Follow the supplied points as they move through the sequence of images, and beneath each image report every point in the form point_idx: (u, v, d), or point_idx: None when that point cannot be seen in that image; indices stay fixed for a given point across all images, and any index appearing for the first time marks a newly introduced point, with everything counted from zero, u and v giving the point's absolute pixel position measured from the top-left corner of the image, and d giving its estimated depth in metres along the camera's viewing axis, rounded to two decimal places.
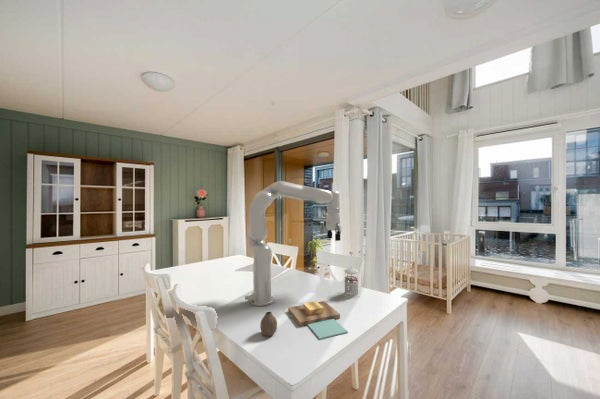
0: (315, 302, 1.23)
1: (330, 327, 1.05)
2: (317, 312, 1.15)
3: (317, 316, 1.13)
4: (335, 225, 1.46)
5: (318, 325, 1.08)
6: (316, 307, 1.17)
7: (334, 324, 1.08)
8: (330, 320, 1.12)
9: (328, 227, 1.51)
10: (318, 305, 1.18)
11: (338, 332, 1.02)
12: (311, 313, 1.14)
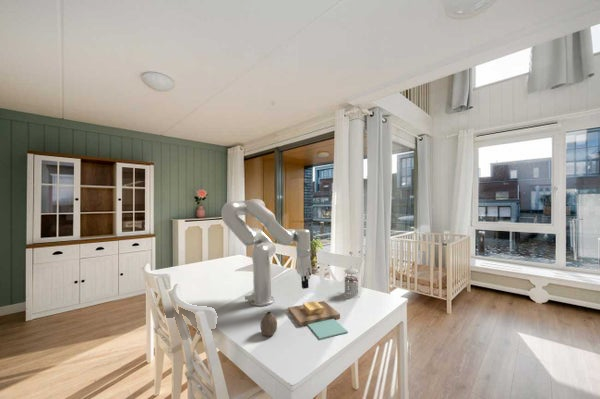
0: (315, 302, 1.23)
1: (330, 327, 1.05)
2: (317, 312, 1.15)
3: (317, 316, 1.13)
4: None
5: (318, 325, 1.08)
6: (316, 307, 1.17)
7: (334, 324, 1.08)
8: (330, 320, 1.12)
9: (298, 271, 1.30)
10: (318, 305, 1.18)
11: (338, 332, 1.02)
12: (311, 313, 1.14)
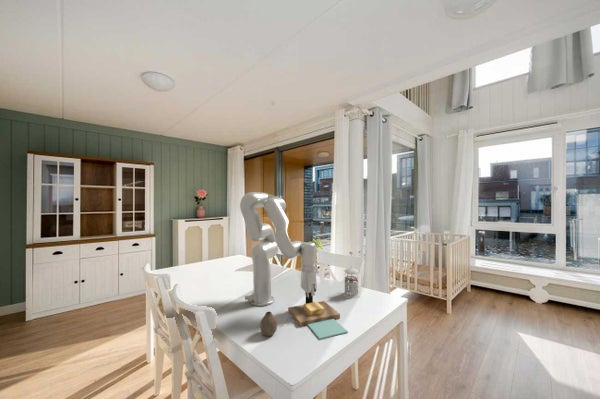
0: (316, 302, 1.22)
1: (330, 327, 1.05)
2: (318, 313, 1.15)
3: (317, 316, 1.13)
4: (309, 291, 1.19)
5: (318, 325, 1.08)
6: (317, 307, 1.16)
7: (334, 324, 1.08)
8: (330, 320, 1.12)
9: (302, 287, 1.23)
10: (319, 306, 1.18)
11: (338, 332, 1.02)
12: (312, 314, 1.13)
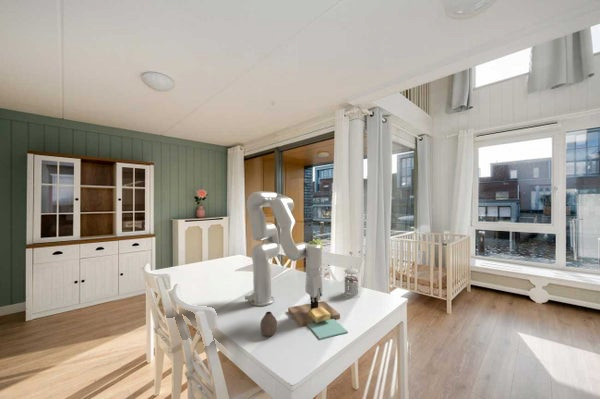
0: (321, 307, 1.16)
1: (330, 327, 1.05)
2: (324, 319, 1.09)
3: None
4: None
5: (318, 325, 1.08)
6: (323, 313, 1.10)
7: (334, 324, 1.08)
8: (330, 320, 1.12)
9: (307, 291, 1.18)
10: (324, 312, 1.12)
11: (338, 332, 1.02)
12: (317, 320, 1.07)
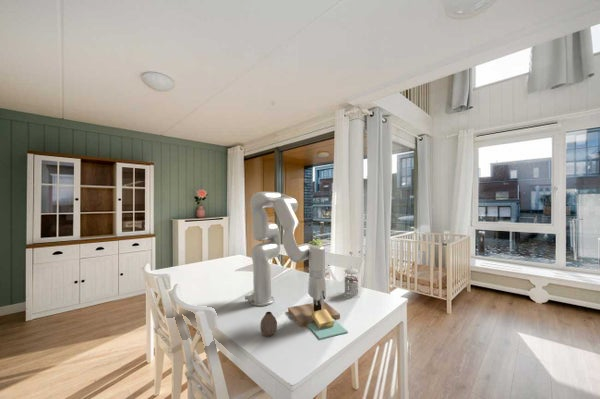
0: (325, 310, 1.13)
1: (330, 327, 1.05)
2: (327, 326, 1.06)
3: None
4: (318, 299, 1.10)
5: None
6: (326, 319, 1.07)
7: (334, 324, 1.08)
8: None
9: (310, 294, 1.14)
10: (328, 317, 1.08)
11: (338, 332, 1.02)
12: (320, 326, 1.05)
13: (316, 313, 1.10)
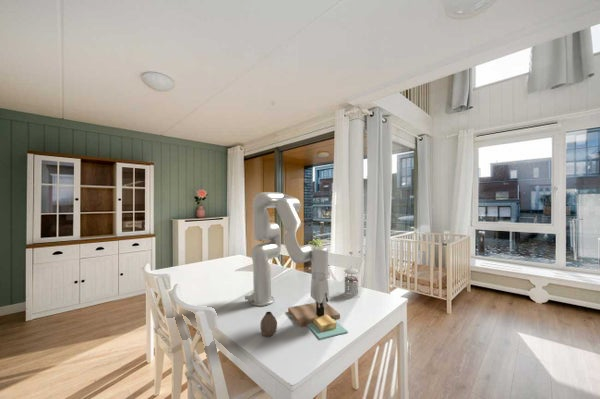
0: (327, 315, 1.11)
1: None
2: (329, 328, 1.04)
3: None
4: None
5: None
6: (328, 322, 1.05)
7: None
8: None
9: (313, 296, 1.12)
10: (330, 320, 1.07)
11: (338, 332, 1.02)
12: (323, 329, 1.03)
13: (318, 318, 1.09)
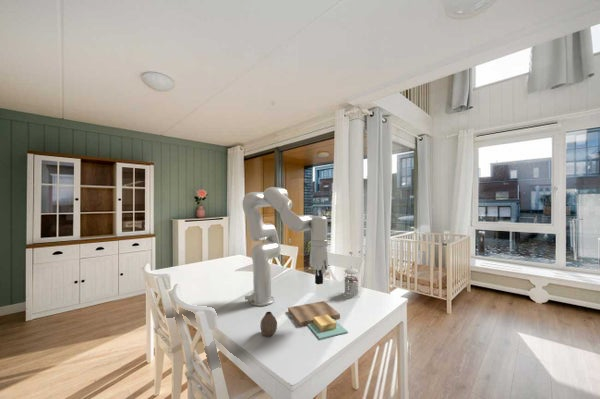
0: (327, 315, 1.11)
1: None
2: (329, 328, 1.04)
3: None
4: None
5: None
6: (328, 322, 1.05)
7: None
8: None
9: (312, 264, 1.12)
10: (330, 320, 1.07)
11: (338, 332, 1.02)
12: (323, 329, 1.03)
13: (318, 318, 1.09)
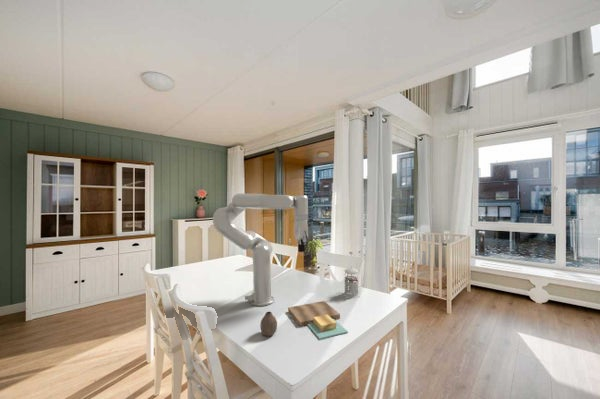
0: (327, 315, 1.11)
1: None
2: (329, 328, 1.04)
3: None
4: (301, 238, 1.30)
5: None
6: (328, 322, 1.05)
7: None
8: None
9: (295, 235, 1.35)
10: (330, 320, 1.07)
11: (338, 332, 1.02)
12: (323, 329, 1.03)
13: (318, 318, 1.09)
